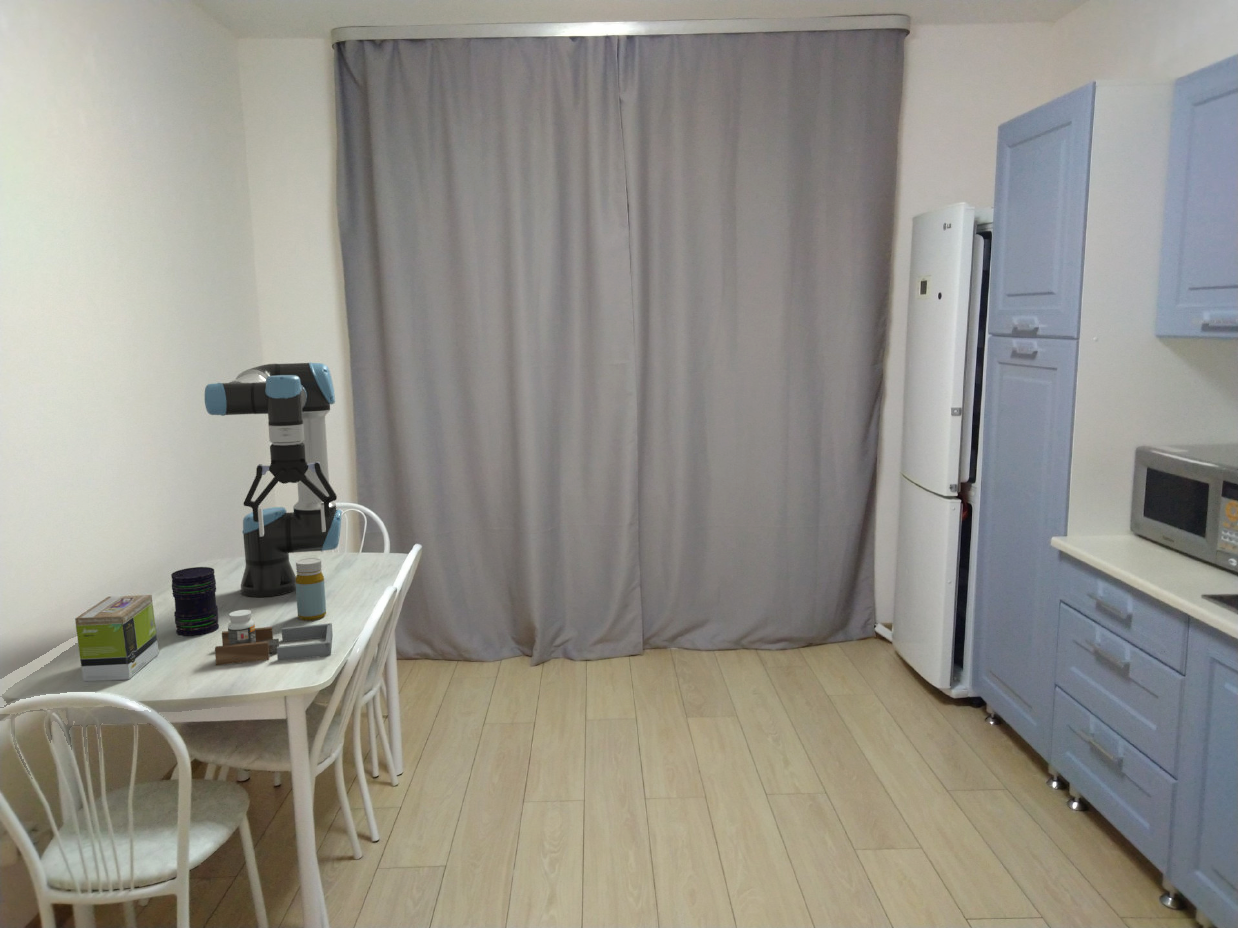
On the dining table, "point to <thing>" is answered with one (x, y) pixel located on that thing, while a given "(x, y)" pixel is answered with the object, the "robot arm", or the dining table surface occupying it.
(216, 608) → the dark blue canister
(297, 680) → the dining table surface
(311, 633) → the frame
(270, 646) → the grey square block
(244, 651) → the slot
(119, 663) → the tea box
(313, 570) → the bottle
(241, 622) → the pill bottle
